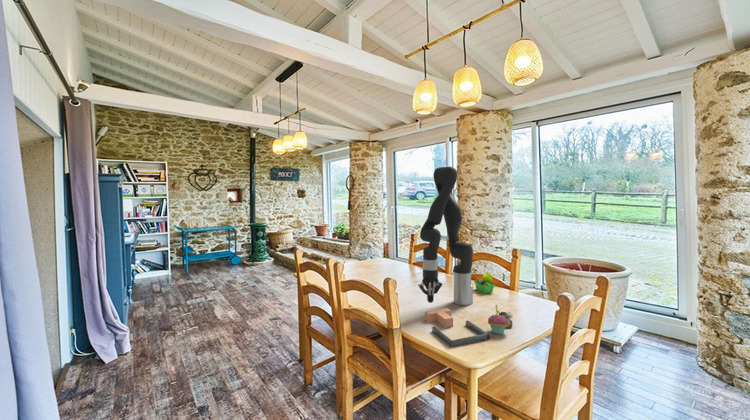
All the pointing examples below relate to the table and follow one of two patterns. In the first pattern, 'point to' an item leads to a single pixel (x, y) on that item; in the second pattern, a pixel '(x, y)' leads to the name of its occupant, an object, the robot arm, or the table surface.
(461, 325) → the table surface
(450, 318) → the T-block
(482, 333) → the rail bay
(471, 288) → the robot arm
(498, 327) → the cupcake
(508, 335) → the table surface
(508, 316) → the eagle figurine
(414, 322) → the table surface
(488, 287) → the fruit basket
